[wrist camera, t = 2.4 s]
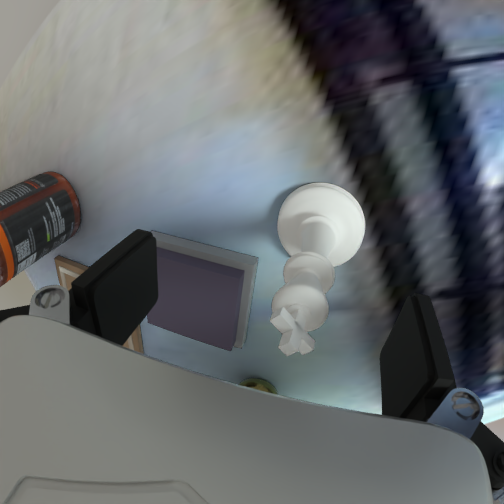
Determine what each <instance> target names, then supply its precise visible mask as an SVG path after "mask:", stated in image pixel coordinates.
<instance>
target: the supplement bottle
mask: <svg viewBox="0 0 504 504" xmlns="http://www.w3.org/2000/svg"><path fill="white" fill-rule="evenodd" d="M80 217H81V214H80V207H79V201H78V198H77V196H76V194H75V191H74V189H73V188H72V186H71V185H70V183H69V182H68V181H67V179H65V178H64V177H63V176H62V175H60V174H58V173H56V172H45V173H43V174H40V175H37V176H35V177H33V178H30V179H28V180H26V181H24V182H21V183H19V184H17V185H15V186H12V187H10V188H8V189H6V190H4V191H2V192H0V287H1V286H2V285H4V284H5V283H6V282H8V281H9V280H10V279H11V278H13V277H15V276H16V275H17V274H19V273H20V272H22V271H23V270H24V269H26V268H27V267H28V266H30V265H31V264H33V263H34V262H36V261H37V260H39V259H40V258H41V257H43V256H44V255H46V254H47V253H49V252H50V251H52V250H53V249H55V248H56V247H58V246H59V245H61V244H62V243H64V242H65V241H67V240H68V239H69V238H71V237H72V236H73V235H74V234H75V233H76V232H77V230H78V228H79V224H80Z"/></svg>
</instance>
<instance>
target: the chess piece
mask: <svg viewBox="0 0 504 504" xmlns="http://www.w3.org/2000/svg"><path fill="white" fill-rule="evenodd" d="M277 229H278V235H279V239H280V241H281V243H282V245H283V247H284V249H285V250H286V251H287V253H288V254H289V255H290V256H291V257H290V258H289V259H288V260H287V262H286V264H285V266H284V271H283V275H284V280H285V283H286V284H285V285H284V286H283V287H281V288H280V289H279V290H278V291H277V293H276V294H275V295H274V297H273V300H272V312H273V313H272V316H271V318H270V322H271V323H272V324H273V325H274V326H275V327H276V328H277V329H278V330H279V331H280V332H281V333H282V337H281V340H280V343H279V346H278V348H279V349H280V350H281V351H282V352H283V353H284V354H285V355H286V356H289V355H292V354H294V353H296V352H298V351H299V352H300V353H301V354H302V355H305V354H307V353H309V352H311V351H313V350H314V346H315V340H314V339H313V338H312V337H311V336H310V335H309V334H308V333H307V332H310V331H313V330H315V329H317V328H319V327H320V326H322V325H323V324H324V322H325V321H326V319H327V317H328V313H329V305H328V301H327V298H326V296H325V294H326V293H327V292H328V291H329V290H330V288H331V287H332V286H333V284H334V281H335V270H334V267H336V266H339V265H341V264H343V263H345V262H346V261H348V260H349V259H350V258H352V257H353V256H354V255H355V253H356V252H357V251H358V249H359V247H360V245H361V243H362V240H363V237H364V233H365V219H364V214H363V211H362V209H361V207H360V205H359V203H358V202H357V201H356V199H355V198H354V197H353V196H352V195H351V194H350V193H349V192H347V191H346V190H344V189H343V188H341V187H338V186H336V185H333V184H329V183H311V184H307V185H304V186H301V187H299V188H298V189H296V190H294V191H293V192H292V193H291V194H290V195H289V196H288V197H287V198H286V199H285V201H284V202H283V204H282V206H281V208H280V211H279V216H278V222H277Z"/></svg>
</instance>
